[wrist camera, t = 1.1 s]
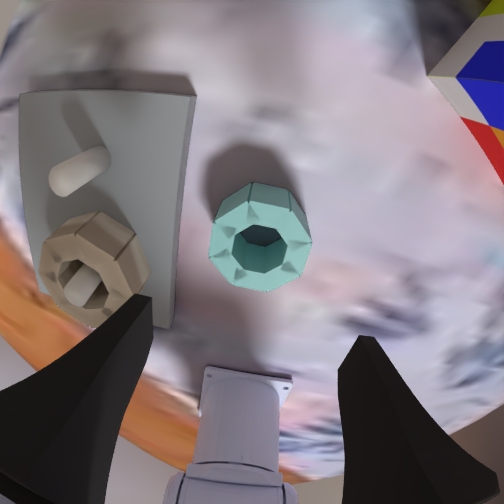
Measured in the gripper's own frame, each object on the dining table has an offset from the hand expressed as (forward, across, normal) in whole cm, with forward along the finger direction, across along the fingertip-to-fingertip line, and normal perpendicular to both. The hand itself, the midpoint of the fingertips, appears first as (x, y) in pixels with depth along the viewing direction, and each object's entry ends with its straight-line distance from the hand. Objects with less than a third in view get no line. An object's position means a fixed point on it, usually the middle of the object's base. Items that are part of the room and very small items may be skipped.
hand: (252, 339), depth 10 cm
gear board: (+10, +11, +2) cm, 15 cm away
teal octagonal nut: (+10, 0, +1) cm, 10 cm away
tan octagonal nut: (+8, +10, +5) cm, 14 cm away
